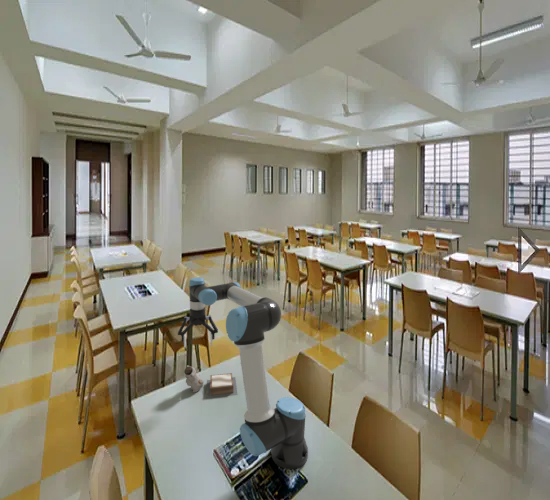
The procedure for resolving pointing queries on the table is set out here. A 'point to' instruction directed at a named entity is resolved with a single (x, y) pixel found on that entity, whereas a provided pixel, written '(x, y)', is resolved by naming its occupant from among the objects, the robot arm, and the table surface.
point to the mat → (222, 394)
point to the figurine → (193, 379)
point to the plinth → (221, 384)
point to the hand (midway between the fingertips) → (198, 345)
